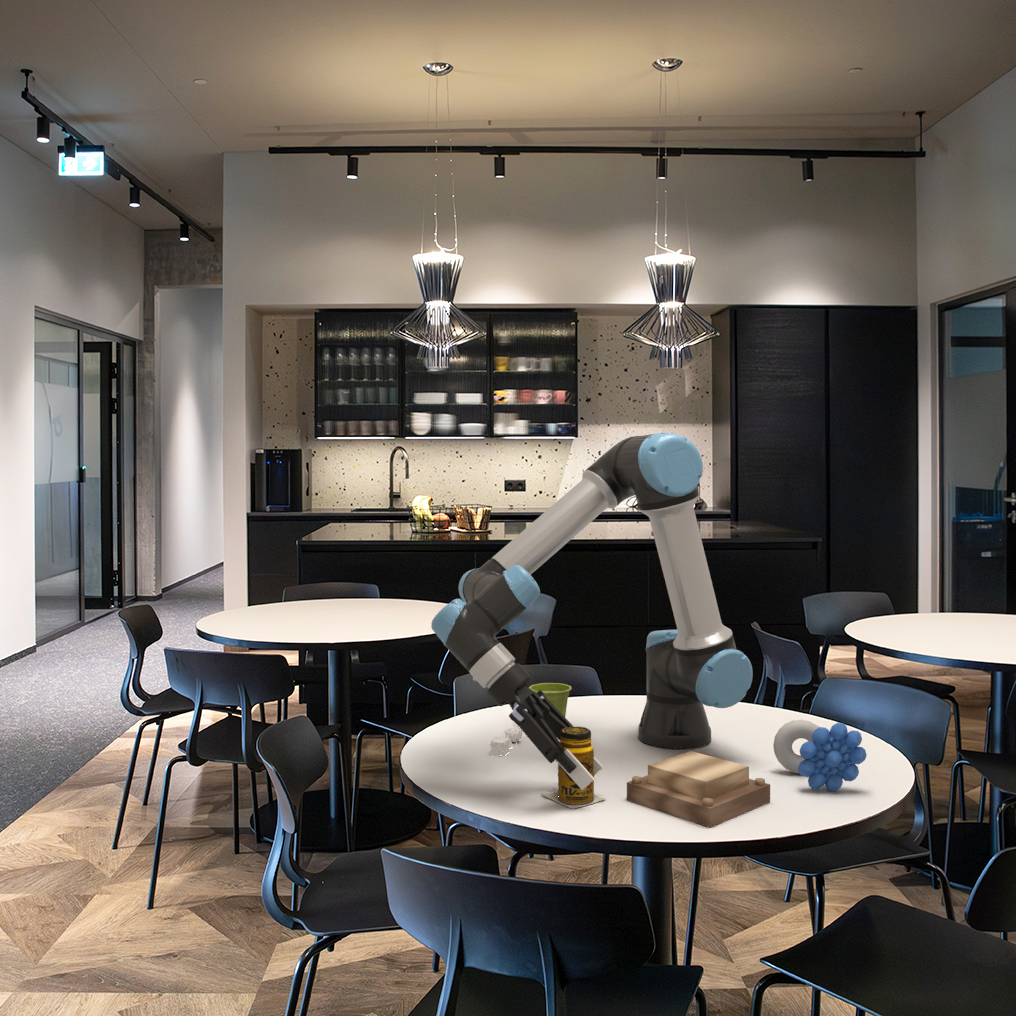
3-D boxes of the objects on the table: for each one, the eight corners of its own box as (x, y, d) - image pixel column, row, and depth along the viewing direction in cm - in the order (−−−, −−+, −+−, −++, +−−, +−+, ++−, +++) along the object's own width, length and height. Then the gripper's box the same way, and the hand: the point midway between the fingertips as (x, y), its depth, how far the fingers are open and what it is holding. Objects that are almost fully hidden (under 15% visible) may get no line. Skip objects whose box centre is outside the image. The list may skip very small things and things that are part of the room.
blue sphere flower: (857, 783, 163) (858, 716, 163) (870, 796, 157) (871, 726, 156) (791, 782, 164) (792, 716, 164) (801, 795, 157) (802, 726, 157)
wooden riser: (626, 799, 155) (626, 764, 155) (688, 778, 167) (688, 745, 167) (709, 827, 143) (709, 789, 143) (770, 802, 154) (770, 766, 154)
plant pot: (540, 733, 197) (540, 693, 196) (522, 723, 205) (522, 684, 205) (578, 729, 200) (578, 689, 200) (559, 719, 209) (559, 681, 209)
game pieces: (505, 758, 180) (505, 742, 180) (489, 757, 181) (489, 741, 181) (523, 741, 191) (523, 726, 191) (508, 740, 192) (508, 725, 192)
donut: (828, 772, 170) (828, 718, 170) (831, 778, 166) (831, 723, 166) (772, 769, 172) (772, 716, 171) (774, 775, 168) (774, 721, 168)
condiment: (573, 809, 151) (573, 737, 150) (541, 795, 158) (541, 726, 157) (605, 800, 155) (605, 730, 155) (573, 787, 162) (573, 720, 162)
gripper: (504, 679, 169) (590, 775, 164) (467, 702, 151) (563, 811, 146) (531, 652, 167) (619, 748, 163) (497, 672, 149) (595, 781, 145)
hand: (592, 778), depth 154 cm, fingers closed on condiment, 6 cm apart
